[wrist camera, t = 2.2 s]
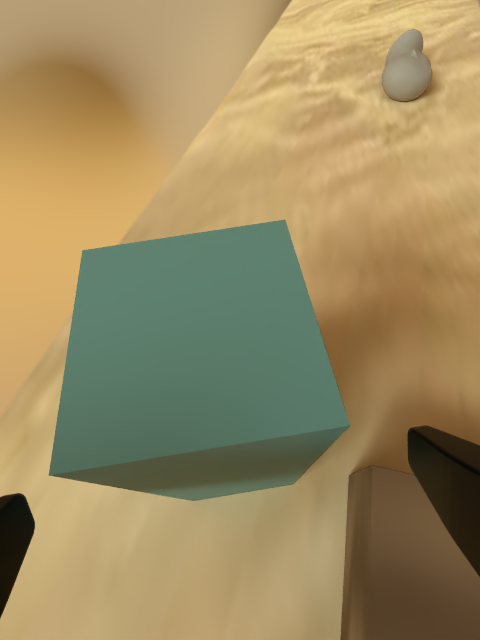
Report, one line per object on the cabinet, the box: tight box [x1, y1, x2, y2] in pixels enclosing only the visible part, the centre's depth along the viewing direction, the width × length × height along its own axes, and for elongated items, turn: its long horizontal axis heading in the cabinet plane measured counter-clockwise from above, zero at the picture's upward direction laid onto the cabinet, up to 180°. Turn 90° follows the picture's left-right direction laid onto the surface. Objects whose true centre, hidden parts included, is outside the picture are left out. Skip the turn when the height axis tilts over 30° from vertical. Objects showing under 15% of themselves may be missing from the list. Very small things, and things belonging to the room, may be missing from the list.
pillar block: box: [49, 220, 350, 501], centre depth 12 cm, size 5×5×12 cm
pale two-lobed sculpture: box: [382, 29, 432, 101], centre depth 34 cm, size 4×8×5 cm
